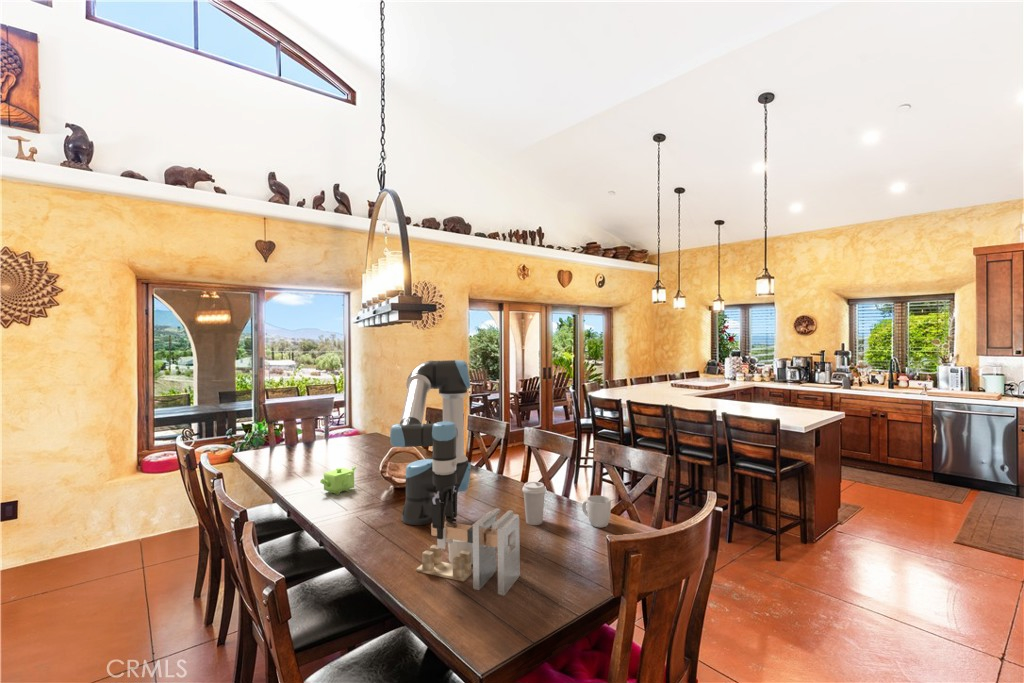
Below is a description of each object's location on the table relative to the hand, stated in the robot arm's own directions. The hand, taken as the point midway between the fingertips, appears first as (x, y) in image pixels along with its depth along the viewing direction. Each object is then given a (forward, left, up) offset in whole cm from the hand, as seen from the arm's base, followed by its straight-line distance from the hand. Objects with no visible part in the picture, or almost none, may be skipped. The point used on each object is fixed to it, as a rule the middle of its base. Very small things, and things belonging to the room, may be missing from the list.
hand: (445, 545), depth 148 cm
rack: (0, 0, -8) cm, 8 cm away
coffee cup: (+13, +48, -9) cm, 50 cm away
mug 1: (+2, +11, -9) cm, 14 cm away
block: (+8, 0, +5) cm, 9 cm away
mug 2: (+36, +55, -9) cm, 66 cm away
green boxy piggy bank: (-87, +48, -9) cm, 100 cm away
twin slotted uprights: (+18, 0, -8) cm, 20 cm away
